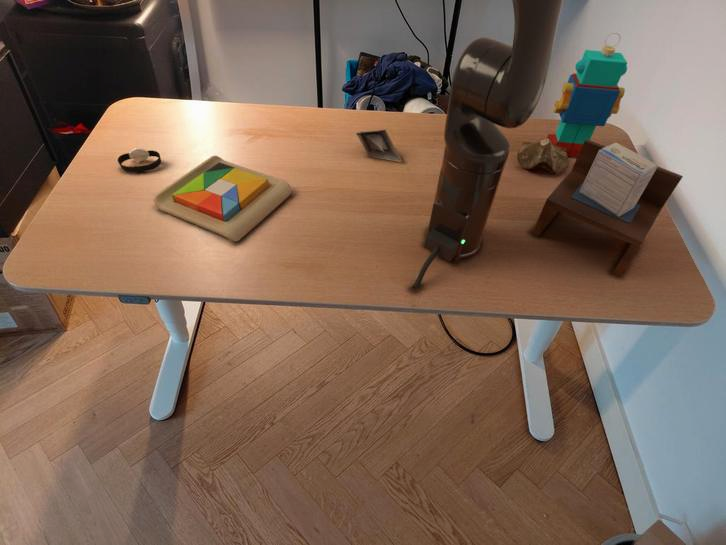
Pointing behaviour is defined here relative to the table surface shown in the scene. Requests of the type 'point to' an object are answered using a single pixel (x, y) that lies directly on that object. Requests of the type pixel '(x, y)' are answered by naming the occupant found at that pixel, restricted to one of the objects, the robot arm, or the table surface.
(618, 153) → the medicine box
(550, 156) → the fossilized seashell
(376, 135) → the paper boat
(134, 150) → the watch
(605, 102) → the toy robot
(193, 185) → the wooden puzzle
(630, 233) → the wooden toy chair
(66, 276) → the table surface
